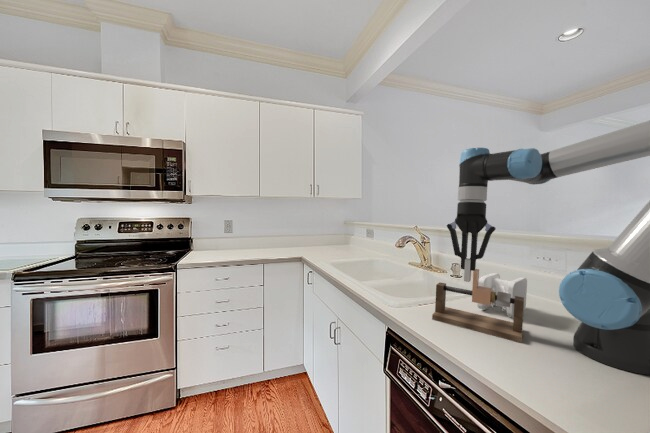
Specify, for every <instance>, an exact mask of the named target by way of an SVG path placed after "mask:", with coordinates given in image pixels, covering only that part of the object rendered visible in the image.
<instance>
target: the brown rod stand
mask: <svg viewBox="0 0 650 433" xmlns="http://www.w3.org/2000/svg"><path fill="white" fill-rule="evenodd" d="M447 292H453V293H457V294H461V295H462V294H463V295H466V296H467V295H468V296H472V289H471V290H469V289H464V288H459V287H453V286H450V285H449V286H448V285H447V283H445V282H440V281H439V282H438V283H437V284H436V287H435V306H434V309H435V310H434V312H433V313H432V316H431V320H433V321H437V322H440V323H445V324H448V325H452V326H456V327H460V328H463V329H466V330H472V331H475V332H479V333H483V334H486V335H490V336H493V337H497V338H502V339H505V340H509V341H513V342H517V343H520V344H522V343H523V326H524V324H523V323H524V322H523V321H524V311H523V308H524V297H518V296H515V299H514V298H511V294H509V293H504V292H498V293H497V295H496V292H492V291H491V302H492V303H495V300H497V305H501V306H506V307H510V303H513V304H514V318H513V320H512V321H510V320H509V321H508V320H503V319H501V318H500V319H499V318H496V317H490V316H487V315H482V314H479V313H474V312H470V311H465V310H461V309H457V308H452V307H447V306H446V297H447V296H446V295H447V294H446V293H447Z"/></svg>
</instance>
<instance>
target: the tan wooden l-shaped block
mask: <svg viewBox="0 0 650 433" xmlns="http://www.w3.org/2000/svg"><path fill="white" fill-rule="evenodd" d="M479 278H480V269H478V268H475V270H474V271H472V289H471V291H472V295H471V302H472V303H476V304H477V303H480V304H485V305H490V304H491V291H492V288H487V287H482V286H478V285H479Z"/></svg>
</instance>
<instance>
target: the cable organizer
mask: <svg viewBox="0 0 650 433" xmlns="http://www.w3.org/2000/svg"><path fill="white" fill-rule="evenodd" d="M478 286H482V287H487V288H492V292H496V295H497V293H498V292H504V293H509V294H511V298H514V299H515V296H518V297H524V308H523V312H525V309H526V307H527V291H528V288H527V287H528V279H527V277H521V276H520V277H518V278H515V279H513V280H506V279H501V274H499V273H497V272H492V273H488V274H485V275H482V276H481V277H480V276H479V285H478ZM476 304H477V309H480V310H482V311H485V310H487V309H489V308H491V309H494V307H498V308H501V309H502V311H503V312H505V311H506V315H507V316H508V317H509V318H511V319H514V304H513V303H510V307H506V306H501V305H497V300H495V303H492V302H491V304H490V305H485V304H480V303H476Z"/></svg>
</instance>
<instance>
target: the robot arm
mask: <svg viewBox="0 0 650 433" xmlns="http://www.w3.org/2000/svg"><path fill="white" fill-rule="evenodd" d="M646 157H650V120H647V121H642V122H640V123H637V124H633V125H630V126H627V127H624V128H621V129H617V130H614V131H611V132H608V133H605V134H602V135H601V134H600V135H598V136H595V137H592V138H588V139H585V140H582V141H579V142H575V143H573V144H569V145H566V146H562V147H560V148H556V149H553V150H550V151H547V152H544V153H541V152H539V150H538V149H537V148H534V147H533V148H518V149H514V150H508V151H502V152H493V153H490V150H489V149H488V148H486V147H469V148H466V149H464V150H462V151H461V153H460V160H459V165H458V167H459V177H458V178H459V180H458V192H457V200H458V201H459V202H458V203H457V209H456V210H457V211H456V217H455V219H454V221H452V222H450V223H448V224H447V225H446V227H447V229H448V231H449V233H450V238H451V243H452V248H453V253H454V255H455V256H456V257H458V258H460V269H461V270H463V271H464V272H463V282H467V283H470V282H471V279H472V272H473V271H474V270H475V269H476V267H477V265H476V264H477V260H480V259H483V257H484V256H485V253H486V250H487V248H488V244H489V241H490V239H491V235H492V234H493V233H494V232H495V231H496V227H495V226H493V225H492V224H489V223H488V220H487V215H486V214H487V203H486V201H487V200H488V183H489V181H492V182H493V181H515V182H519V183H520V182H521V183H526V184H529V185H544V184H545V183H548V182H550V181H551V180H554V179H557V178H560V177H565V176H570V175H574V174H578V173H582V172H586V171H591V170H596V169H600V168H604V167H608V166H612V165H616V164H620V163H624V162H629V161H634V160H637V159H641V158H646ZM457 227H458V229H459V230H460V232H461V249H460V244H459V239H458V235H457V230H456V229H457ZM484 228H485V229H484ZM483 229H484V231H485V234H484V237H483V239H482V242H481V246H480V247H479V250H478V237H479V233H480V232H481V231H482V230H483ZM469 233H470V234H471V241H470V242H471V243H470V244H471V245H470V258H467V257H468V242H469ZM477 250H478V251H477ZM477 252H478V253H477ZM558 296H559V299H560V301H561V302H560V303H562V305H563V307H564V308H565V310H566V311H567V312H568V313H569V314H570V315H571V316H573V317H574V318H575V319H576V320H578V321H579V322H580V323H579V326H578V327H577V329H576V331H575V332H574V334H573V338H572V339H573V340H572V346H573V347H574V348H575V350H577V352H579V353H581V354H582V355H585V356H586V357H588V358H590V359H593V360H594V361H597V362H599V363H602V364H605V365H607V366H610V367H613V368H617V369H620V370H623V371H626V372H627V371H628V372H631V373H636V374H641V375H645V376H646V375H647V376H650V200H649V201H648V202H647V203H646V204H645V205H644V206H643V207H642V208H641V210H640V211H639V212H638V213H637V214H636V216H634V218H633V219H632V220H631V221H630V222H629V223H628V225H627V226H626V227H625V228H624V229H623V230H622V232H620V234H619V235H618V236H617V238H616V239H615V240H613V242H612V243H611V244H610V245H609V246H608V247H603V248H596V249H595V248H594V250H593V251H591V253H590V254H589V255H588V256H587V257H586V259H585V260H584V261H583V262H582V263H581V264H580V265H579V267H578V268H577V269H575V270H573V271H571V272H569V273H568V274H566V275H565V276H564V277H563V278H562V280H561V282H560V284H559V287H558Z"/></svg>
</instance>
